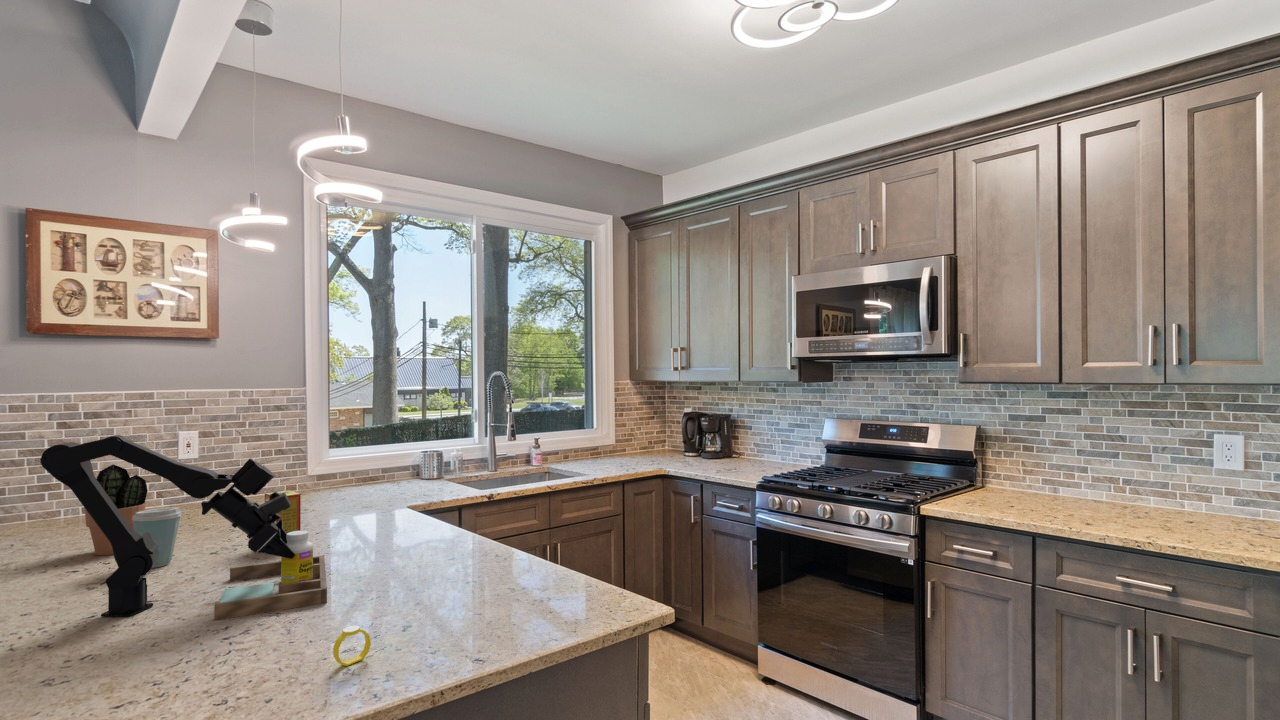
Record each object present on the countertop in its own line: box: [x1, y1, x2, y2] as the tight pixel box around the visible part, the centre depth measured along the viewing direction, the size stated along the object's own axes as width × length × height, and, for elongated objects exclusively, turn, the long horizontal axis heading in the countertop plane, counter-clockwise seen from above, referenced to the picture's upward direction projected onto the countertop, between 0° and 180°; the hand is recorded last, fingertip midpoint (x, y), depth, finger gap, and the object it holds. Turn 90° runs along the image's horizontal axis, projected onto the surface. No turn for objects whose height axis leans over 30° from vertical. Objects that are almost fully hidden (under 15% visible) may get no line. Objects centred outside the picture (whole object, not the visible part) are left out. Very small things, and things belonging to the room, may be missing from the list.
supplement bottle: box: [280, 530, 314, 585], centre depth 152 cm, size 7×7×13 cm
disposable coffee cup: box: [132, 507, 183, 569], centre depth 171 cm, size 11×11×15 cm
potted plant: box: [84, 463, 148, 556], centre depth 186 cm, size 14×14×25 cm
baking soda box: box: [264, 489, 302, 533], centre depth 188 cm, size 10×6×16 cm
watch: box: [332, 625, 372, 667], centre depth 111 cm, size 6×3×6 cm, turn 139°
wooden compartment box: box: [213, 555, 328, 621], centre depth 150 cm, size 21×30×3 cm
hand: (294, 552), depth 151 cm, fingers open, 9 cm apart
